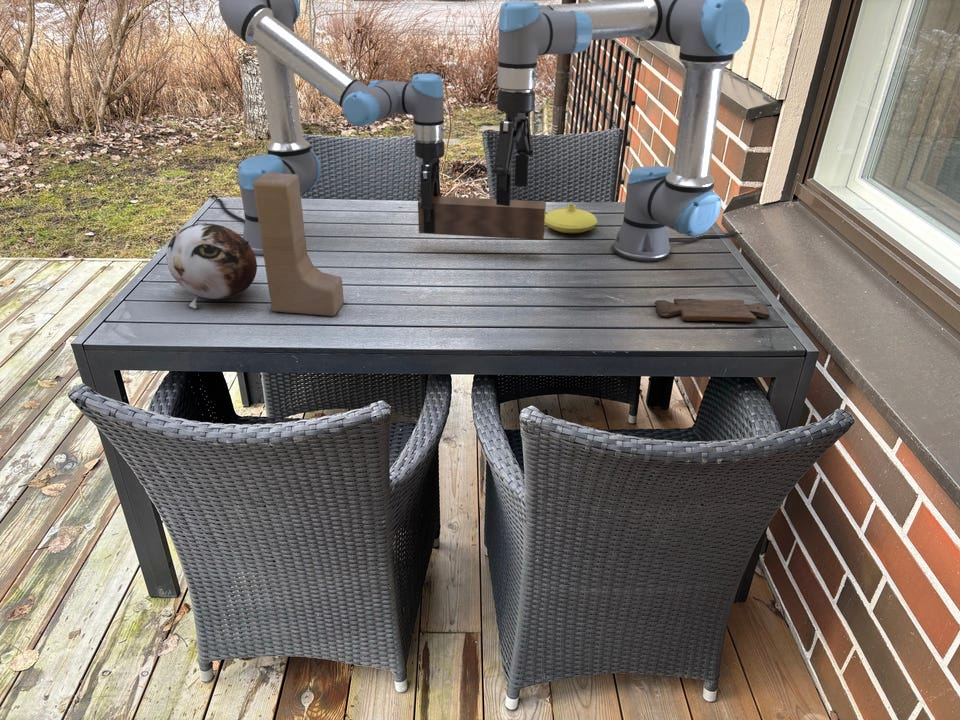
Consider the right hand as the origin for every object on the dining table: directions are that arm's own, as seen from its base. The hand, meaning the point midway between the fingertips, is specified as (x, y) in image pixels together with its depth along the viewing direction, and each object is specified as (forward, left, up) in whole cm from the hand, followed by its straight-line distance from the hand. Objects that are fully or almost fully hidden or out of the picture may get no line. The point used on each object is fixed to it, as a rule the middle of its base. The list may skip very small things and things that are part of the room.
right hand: (512, 195), depth 151 cm
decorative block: (+36, -29, -27) cm, 53 cm away
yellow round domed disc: (-49, -29, -27) cm, 63 cm away
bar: (-16, -30, -21) cm, 40 cm away
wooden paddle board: (-37, +30, -27) cm, 55 cm away
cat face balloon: (+50, -47, -27) cm, 74 cm away
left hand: (-7, -40, -20) cm, 45 cm away
